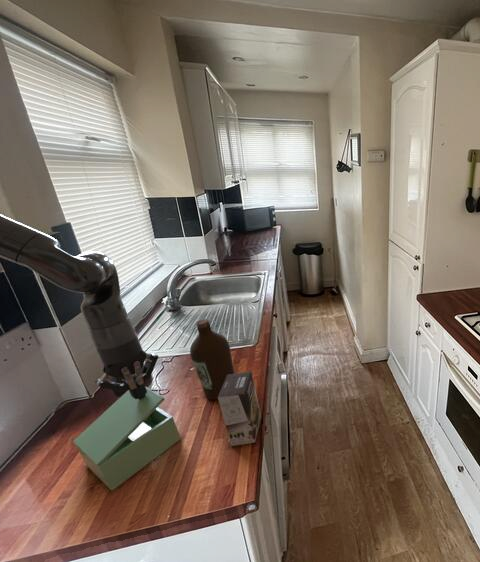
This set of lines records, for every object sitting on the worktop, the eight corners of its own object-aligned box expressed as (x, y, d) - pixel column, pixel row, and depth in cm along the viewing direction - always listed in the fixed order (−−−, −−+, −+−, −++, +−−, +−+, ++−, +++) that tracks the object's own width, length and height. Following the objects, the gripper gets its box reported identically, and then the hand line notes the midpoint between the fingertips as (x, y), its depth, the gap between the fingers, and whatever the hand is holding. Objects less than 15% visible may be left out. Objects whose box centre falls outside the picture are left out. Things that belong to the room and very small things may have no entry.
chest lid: (139, 383, 82) (137, 381, 81) (165, 399, 76) (163, 397, 76) (75, 442, 72) (72, 441, 71) (99, 466, 66) (96, 465, 66)
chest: (155, 421, 87) (146, 400, 84) (180, 438, 81) (172, 416, 78) (87, 466, 75) (74, 443, 72) (111, 491, 69) (99, 467, 66)
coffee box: (256, 442, 80) (244, 394, 73) (230, 446, 79) (216, 398, 73) (262, 415, 88) (252, 370, 82) (238, 419, 87) (226, 373, 81)
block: (129, 447, 79) (124, 434, 77) (148, 434, 82) (143, 421, 80) (138, 454, 77) (132, 441, 75) (157, 440, 80) (152, 428, 78)
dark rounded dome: (125, 411, 91) (107, 370, 85) (112, 398, 96) (93, 358, 91) (162, 390, 99) (148, 351, 93) (148, 379, 104) (133, 341, 98)
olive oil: (226, 374, 105) (209, 309, 96) (245, 385, 100) (229, 318, 90) (196, 393, 97) (174, 324, 88) (215, 406, 92) (193, 335, 82)
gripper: (139, 321, 77) (160, 377, 84) (72, 349, 67) (102, 410, 73) (155, 328, 74) (175, 385, 80) (87, 358, 63) (117, 421, 70)
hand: (140, 397), depth 77 cm, fingers closed
